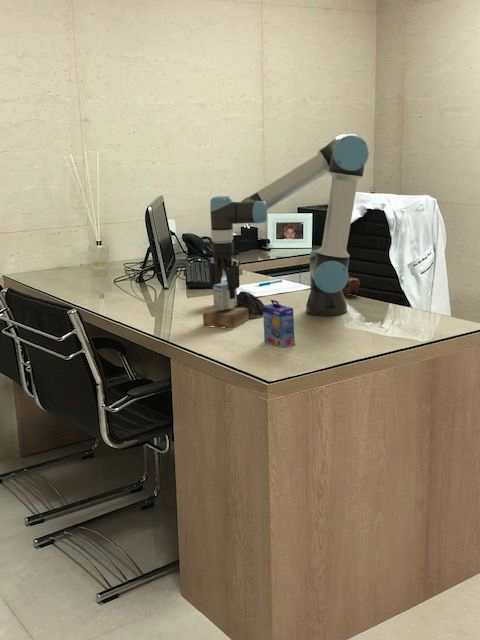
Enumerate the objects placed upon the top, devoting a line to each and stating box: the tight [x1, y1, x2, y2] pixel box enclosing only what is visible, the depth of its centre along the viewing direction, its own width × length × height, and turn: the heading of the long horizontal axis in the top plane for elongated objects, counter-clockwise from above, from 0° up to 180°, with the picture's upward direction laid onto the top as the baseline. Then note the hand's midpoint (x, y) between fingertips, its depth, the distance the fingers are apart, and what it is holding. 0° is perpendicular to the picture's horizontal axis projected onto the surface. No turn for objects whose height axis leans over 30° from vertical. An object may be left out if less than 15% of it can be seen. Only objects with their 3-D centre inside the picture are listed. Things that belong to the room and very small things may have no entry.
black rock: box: [234, 290, 265, 319], centre depth 295 cm, size 13×14×10 cm
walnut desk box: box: [202, 307, 250, 329], centre depth 283 cm, size 12×12×5 cm
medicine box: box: [212, 282, 238, 310], centre depth 281 cm, size 8×4×9 cm, turn 141°
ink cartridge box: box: [262, 299, 296, 349], centre depth 254 cm, size 10×6×14 cm, turn 35°
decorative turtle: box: [342, 275, 361, 298], centre depth 322 cm, size 10×15×8 cm, turn 36°
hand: (225, 306), depth 282 cm, fingers closed on medicine box, 4 cm apart
